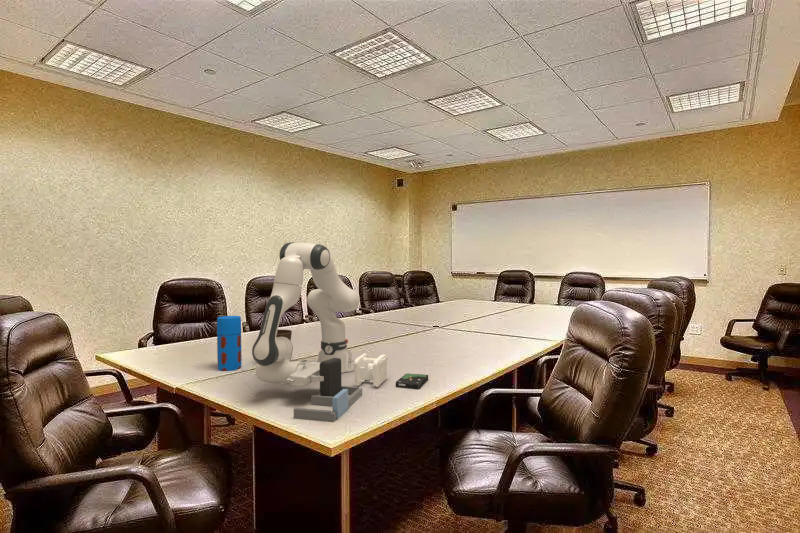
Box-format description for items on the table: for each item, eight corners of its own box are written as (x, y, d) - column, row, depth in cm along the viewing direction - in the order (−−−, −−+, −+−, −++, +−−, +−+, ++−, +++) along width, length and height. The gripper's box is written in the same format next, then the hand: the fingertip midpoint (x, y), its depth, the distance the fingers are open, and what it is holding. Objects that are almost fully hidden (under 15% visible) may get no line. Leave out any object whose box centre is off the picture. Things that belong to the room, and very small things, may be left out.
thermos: (233, 371, 204) (233, 319, 203) (213, 370, 205) (212, 318, 205) (245, 365, 215) (245, 315, 214) (225, 365, 216) (225, 315, 216)
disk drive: (419, 391, 175) (428, 380, 189) (419, 384, 175) (428, 374, 189) (395, 388, 178) (406, 378, 193) (395, 382, 178) (406, 372, 192)
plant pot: (259, 361, 224) (259, 330, 223) (288, 358, 231) (287, 328, 230) (265, 368, 210) (264, 335, 210) (295, 364, 217) (295, 332, 217)
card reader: (334, 394, 169) (334, 356, 169) (342, 396, 167) (342, 357, 167) (318, 401, 161) (318, 361, 161) (327, 403, 159) (326, 363, 159)
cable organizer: (365, 377, 193) (365, 352, 192) (388, 379, 190) (388, 353, 190) (353, 387, 178) (353, 359, 178) (378, 389, 176) (378, 361, 175)
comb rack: (327, 391, 173) (327, 374, 172) (362, 394, 169) (362, 376, 169) (293, 417, 145) (293, 397, 145) (334, 421, 141) (334, 400, 141)
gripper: (282, 372, 157) (317, 374, 154) (307, 358, 177) (339, 360, 174) (282, 389, 158) (317, 391, 154) (307, 374, 177) (339, 376, 174)
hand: (329, 375), depth 164 cm, fingers open, 8 cm apart
